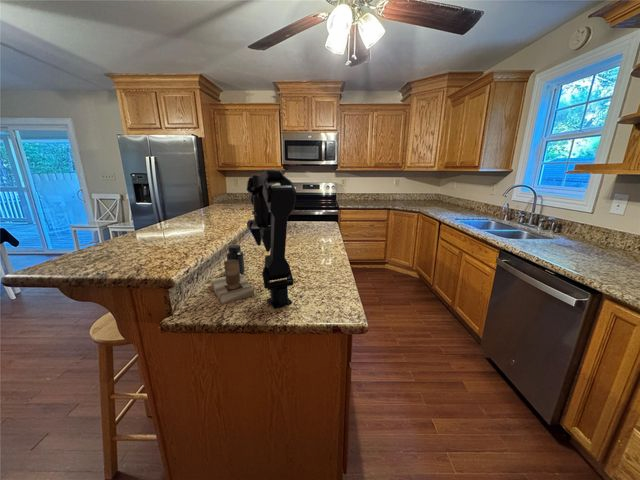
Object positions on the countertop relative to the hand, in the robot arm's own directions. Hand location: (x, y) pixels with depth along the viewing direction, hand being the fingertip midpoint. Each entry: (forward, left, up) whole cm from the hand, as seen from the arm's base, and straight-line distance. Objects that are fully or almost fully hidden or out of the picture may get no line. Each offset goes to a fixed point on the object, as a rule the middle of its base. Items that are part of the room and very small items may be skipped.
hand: (263, 248), depth 98 cm
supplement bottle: (+12, +8, -13) cm, 20 cm away
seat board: (-3, +14, -13) cm, 19 cm away
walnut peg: (-5, +14, -13) cm, 20 cm away
